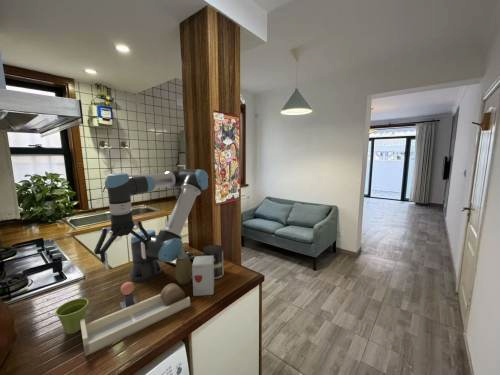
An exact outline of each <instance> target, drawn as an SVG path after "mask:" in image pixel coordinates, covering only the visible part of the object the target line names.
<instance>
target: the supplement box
mask: <svg viewBox="0 0 500 375" xmlns="http://www.w3.org/2000/svg"><path fill="white" fill-rule="evenodd" d="M191 270H192V294H193V297H195V296H197V297H199V296H211V295H214V290H215V279H214V256H204V255H196V256H194V258H193V262H192V264H191Z"/></svg>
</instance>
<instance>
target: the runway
mask: <svg viewBox="0 0 500 375" xmlns="http://www.w3.org/2000/svg"><path fill="white" fill-rule="evenodd" d="M189 307H191V298H190V296H187V297H185V299H183V300H181V301H178V302H176V303H174V304H172V305H169V306H166V305H165V304H164V302H163V301H162V300H161V293H159V294H157V295H154V296H152V297H149V298H147V299H145V300H141V301H139V302H138V303H137V304H134V305H132V306H129V307H127V308H125V309H119V310H117V311H115V312H113V313H110V314H107V315H105V316H103V317H100V318H98V319H95V320H93V321H90V322H88V323H86V324H85V320H84V319H81V320H80V324H81V329H80V331H81V337H82V343H83V350H84V356H85V357H87V356H90V355H91V354H94V353H95V352H98V351H100V350H102V349H104V348H106V347H108V346H110V345H112V344H114V343H116V342H118V341H120V340H122V339H124V338H127V337H129V336H131V335H132V334H136V333H137V332H139V331H142V330H143V329H146V328H147V327H150V326H151V325H153V324H155V323H158V322H160V321H161V320H164V319H166V318H168V317H170V316H172V315H174V314H177V313H178V312H180V311H183V310H184V309H186V308H189Z"/></svg>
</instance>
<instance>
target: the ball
mask: <svg viewBox="0 0 500 375" xmlns="http://www.w3.org/2000/svg"><path fill="white" fill-rule="evenodd" d="M134 290H135V284H134V283H133V281H132V282H131V281H126V282H124V283H123V284H122V285H121V287H120V293H121V294H122V295H123V294H124V295H129V294H131V293H133V292H134Z"/></svg>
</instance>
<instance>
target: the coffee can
mask: <svg viewBox="0 0 500 375" xmlns="http://www.w3.org/2000/svg"><path fill="white" fill-rule="evenodd" d="M202 251H203V256H214V280H217V279H220V278H222V277H223V276H224V273H225V272H224V247H223V246H222V245H218V244H211V245H207V246H205V247H203V250H202Z"/></svg>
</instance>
